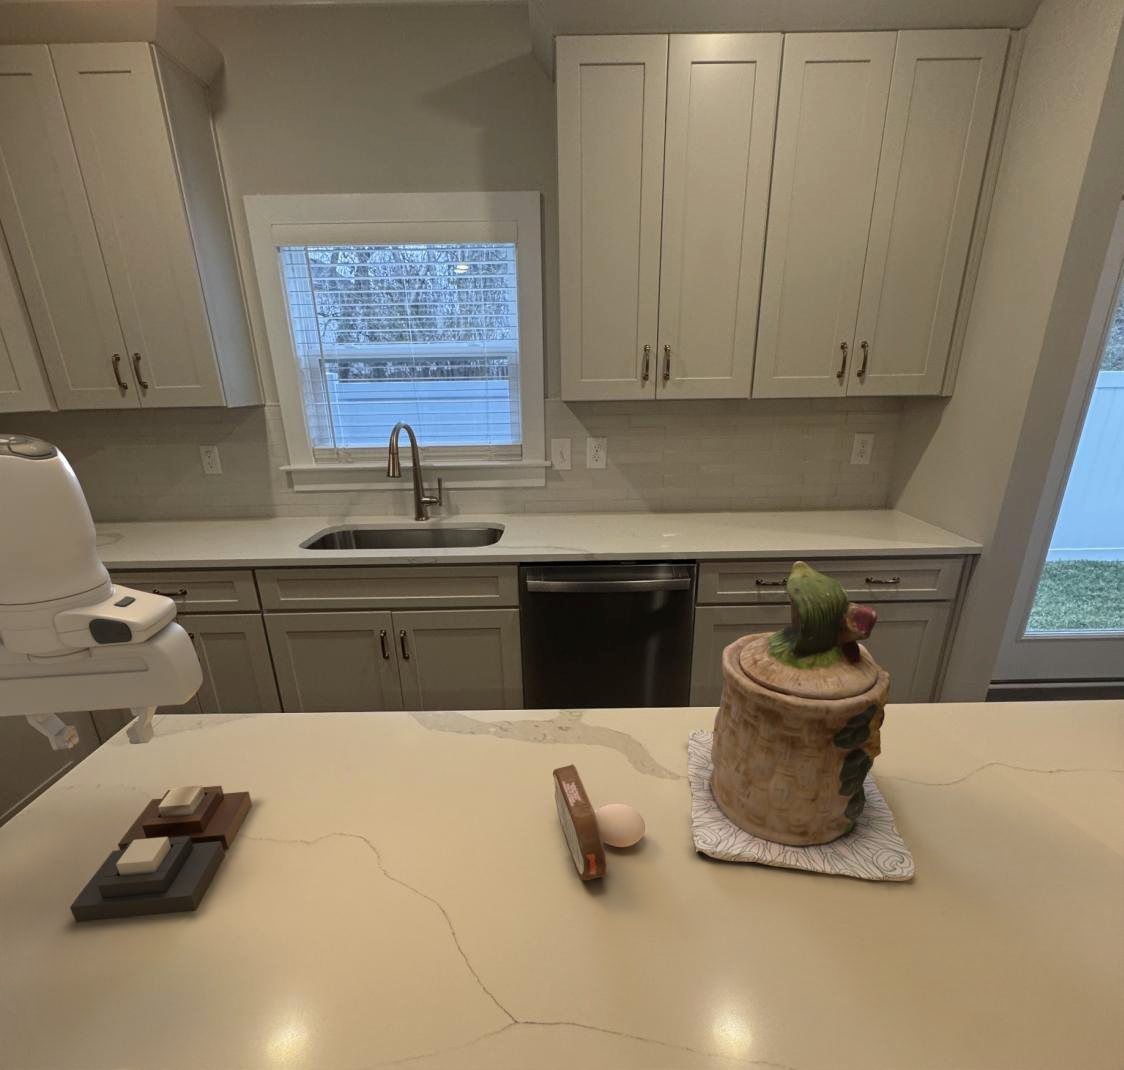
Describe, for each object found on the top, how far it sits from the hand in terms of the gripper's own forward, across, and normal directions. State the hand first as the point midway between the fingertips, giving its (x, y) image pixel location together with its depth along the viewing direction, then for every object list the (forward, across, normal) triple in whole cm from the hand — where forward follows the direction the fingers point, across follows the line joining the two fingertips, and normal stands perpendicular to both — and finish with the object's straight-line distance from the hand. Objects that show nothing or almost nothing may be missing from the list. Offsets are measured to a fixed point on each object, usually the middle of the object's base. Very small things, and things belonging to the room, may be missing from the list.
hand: (105, 743), depth 62 cm
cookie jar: (+19, +76, +4) cm, 78 cm away
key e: (+16, 0, +9) cm, 18 cm away
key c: (+15, 0, 0) cm, 15 cm away
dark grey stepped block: (+19, 0, 0) cm, 19 cm away
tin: (+19, +48, 0) cm, 52 cm away
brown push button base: (+19, 0, +9) cm, 21 cm away
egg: (+17, +56, -1) cm, 59 cm away
